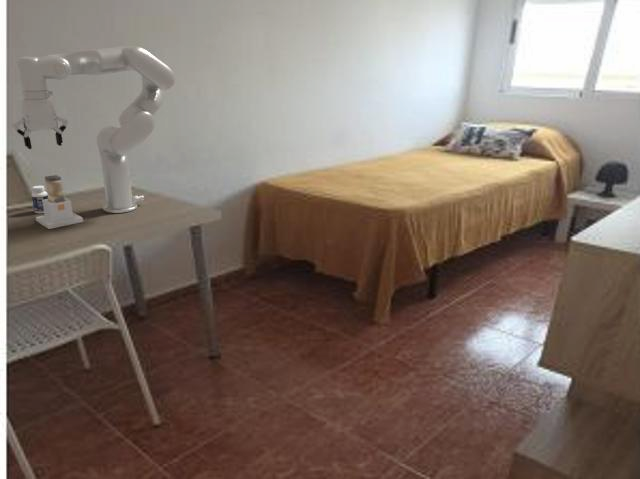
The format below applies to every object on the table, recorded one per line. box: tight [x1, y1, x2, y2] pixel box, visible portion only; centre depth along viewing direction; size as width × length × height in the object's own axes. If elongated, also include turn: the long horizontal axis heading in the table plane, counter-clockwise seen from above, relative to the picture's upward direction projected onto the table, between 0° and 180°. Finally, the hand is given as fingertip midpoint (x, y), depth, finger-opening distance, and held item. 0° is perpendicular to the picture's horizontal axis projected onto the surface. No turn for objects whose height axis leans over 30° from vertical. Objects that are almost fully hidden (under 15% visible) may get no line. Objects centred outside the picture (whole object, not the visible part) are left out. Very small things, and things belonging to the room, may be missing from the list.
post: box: [44, 174, 65, 203], centre depth 190 cm, size 4×4×14 cm
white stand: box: [35, 196, 84, 230], centre depth 192 cm, size 12×12×9 cm
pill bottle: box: [31, 185, 48, 214], centre depth 202 cm, size 5×5×10 cm
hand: (44, 146), depth 184 cm, fingers open, 9 cm apart
